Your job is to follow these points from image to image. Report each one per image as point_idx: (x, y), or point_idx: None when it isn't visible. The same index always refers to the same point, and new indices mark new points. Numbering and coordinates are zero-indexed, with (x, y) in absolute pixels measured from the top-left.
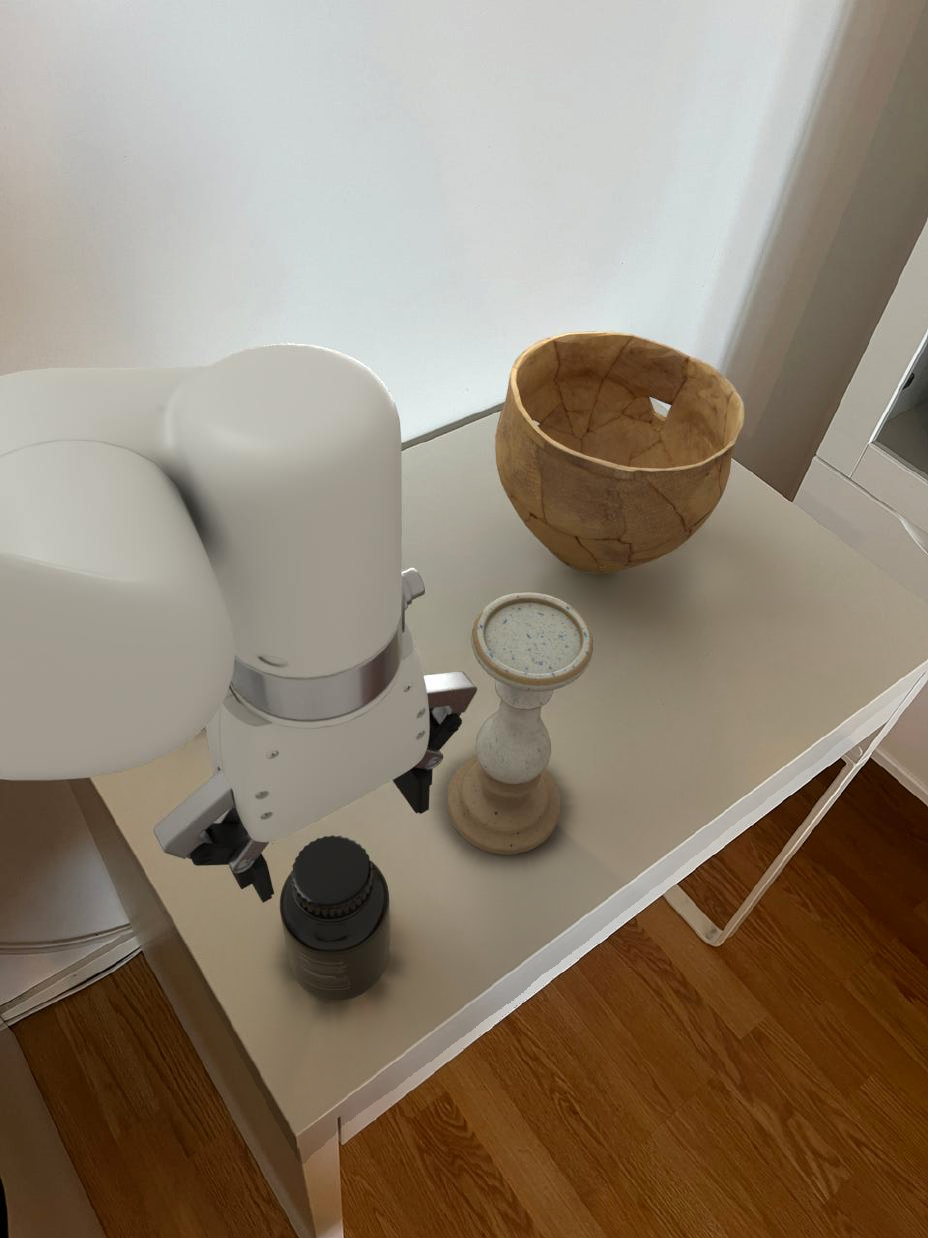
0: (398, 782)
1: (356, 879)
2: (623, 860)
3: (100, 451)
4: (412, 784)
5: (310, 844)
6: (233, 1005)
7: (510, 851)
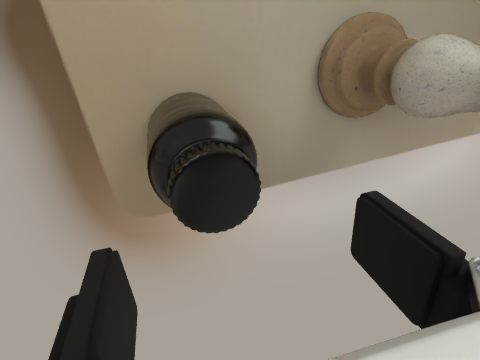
0: (366, 224)
1: (237, 212)
2: (390, 146)
3: None
4: (394, 290)
5: (206, 155)
6: (93, 136)
7: (340, 113)
